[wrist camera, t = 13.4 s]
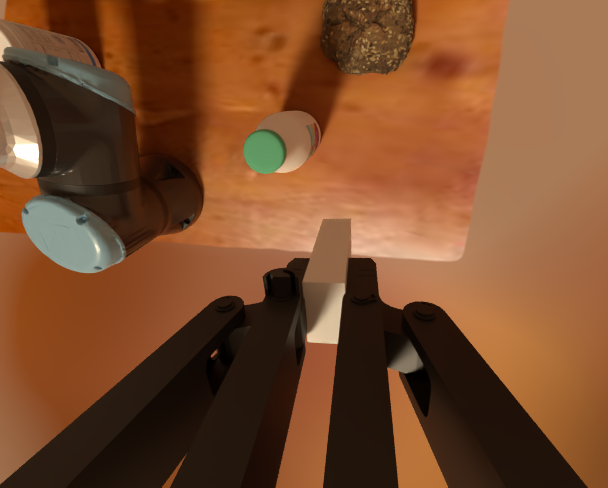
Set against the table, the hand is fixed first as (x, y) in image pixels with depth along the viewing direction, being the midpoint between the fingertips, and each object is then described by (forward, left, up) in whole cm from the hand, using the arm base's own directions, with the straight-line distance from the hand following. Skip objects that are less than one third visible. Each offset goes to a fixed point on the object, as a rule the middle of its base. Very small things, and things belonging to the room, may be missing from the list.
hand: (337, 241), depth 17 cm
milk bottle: (-9, +3, -37) cm, 38 cm away
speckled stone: (+2, +17, -37) cm, 41 cm away
